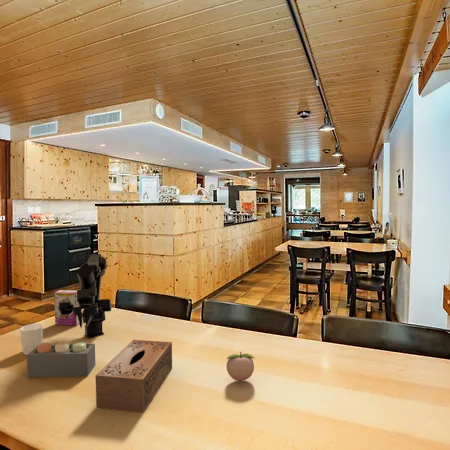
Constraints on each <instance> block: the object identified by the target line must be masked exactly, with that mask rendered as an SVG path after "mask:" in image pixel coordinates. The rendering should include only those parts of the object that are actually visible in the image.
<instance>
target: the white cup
mask: <svg viewBox="0 0 450 450" xmlns="http://www.w3.org/2000/svg"><path fill="white" fill-rule="evenodd" d="M43 330H44V329H43V324H42V323H30V324H26V325H23V326H21V327H20V328H19V332H20V342H21V348H22V349H21V351H22V354H23V355H26V356H27V354H29V353H30V352H31V351H32V350H33V349H35V348H36V347H37V346H38V345H40V344H43V342H44V341H43V338H44V336H43V332H44V331H43Z"/></svg>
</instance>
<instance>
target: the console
mask: <svg viewBox="0 0 450 450" xmlns="http://www.w3.org/2000/svg"><path fill="white" fill-rule="evenodd" d="M73 344H74V343H72V344H71V343H69V350H68V351H67V352H55V345H56V344H51V345H52V350H51V351H50V352H49V353H37V347H36V348H35V349H33V350H32V351H31V352H30V353H29V354H27V355H26V366H27V367H26V368H27V379H37V378H66V377H67V378H69V377H73V378H74V377H88V376H89V375H90V374H91V373H92V371H93V369H94V368H95V366H96V343H86V350H85V351H84V352H73Z"/></svg>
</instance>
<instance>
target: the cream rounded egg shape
mask: <svg viewBox="0 0 450 450" xmlns="http://www.w3.org/2000/svg"><path fill="white" fill-rule="evenodd" d="M69 344H70V343H69V342H66V341H65V342H59V343H56V344H54V345H55V352H67V351H68V350H69Z"/></svg>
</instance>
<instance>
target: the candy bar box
mask: <svg viewBox="0 0 450 450" xmlns="http://www.w3.org/2000/svg"><path fill="white" fill-rule="evenodd" d="M53 295H54V298H53V299H54V318H55V319H54V322H55V326H73V327H76V326H80V324H79V319H78V316H75V315H74V313H73V311H72V313H71V314H67V315H62V314H61V313H60V311H59V308H58V307H59V304H60V303H61V302H68V301H71V304H72V305H73V304H76V303H79V302H77V290H71V289H70V290H68V289H66V290H65V289H60V290H57V291H54V294H53Z"/></svg>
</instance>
